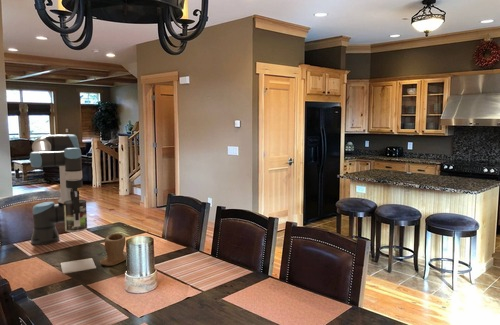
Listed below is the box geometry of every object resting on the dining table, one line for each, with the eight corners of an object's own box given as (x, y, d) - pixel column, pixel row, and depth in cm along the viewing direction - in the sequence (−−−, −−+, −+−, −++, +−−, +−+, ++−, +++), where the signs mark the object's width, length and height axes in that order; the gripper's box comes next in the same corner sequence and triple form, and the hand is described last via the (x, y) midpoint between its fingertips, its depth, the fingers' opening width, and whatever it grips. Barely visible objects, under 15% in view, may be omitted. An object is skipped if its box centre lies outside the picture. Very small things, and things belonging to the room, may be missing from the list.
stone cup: (113, 269, 193) (112, 239, 192) (96, 265, 199) (95, 236, 197) (136, 259, 206) (135, 232, 205) (120, 256, 212) (119, 228, 210)
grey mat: (60, 263, 200) (60, 263, 200) (92, 258, 208) (92, 258, 207) (62, 273, 187) (62, 272, 187) (96, 268, 194) (96, 267, 194)
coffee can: (91, 228, 196) (90, 201, 195) (71, 233, 188) (70, 204, 187) (80, 225, 203) (79, 198, 201) (60, 229, 195) (59, 201, 193)
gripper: (63, 177, 201) (66, 219, 203) (67, 183, 181) (69, 230, 184) (79, 176, 204) (81, 218, 207) (85, 182, 185) (87, 228, 187)
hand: (76, 223), depth 195 cm, fingers closed on coffee can, 10 cm apart
